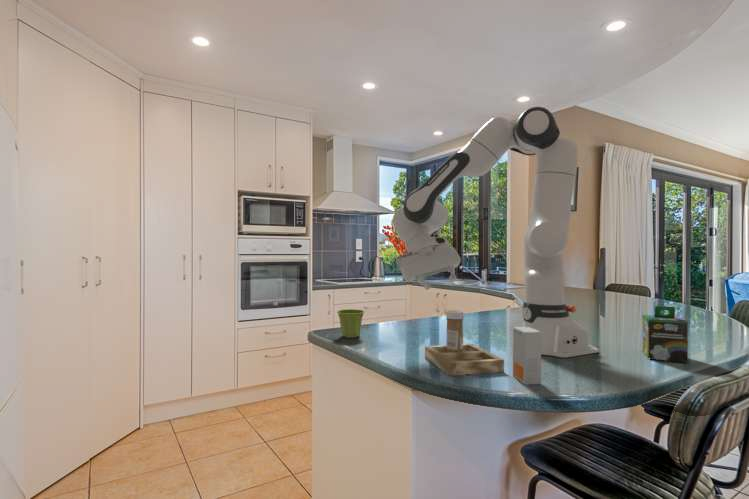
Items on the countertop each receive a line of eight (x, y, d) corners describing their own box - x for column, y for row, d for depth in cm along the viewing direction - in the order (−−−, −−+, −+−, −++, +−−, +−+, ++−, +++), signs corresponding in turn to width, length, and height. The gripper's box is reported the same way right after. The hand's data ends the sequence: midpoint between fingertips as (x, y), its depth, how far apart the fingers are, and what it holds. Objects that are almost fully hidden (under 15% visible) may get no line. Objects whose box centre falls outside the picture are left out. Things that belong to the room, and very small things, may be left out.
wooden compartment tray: (471, 353, 114) (472, 343, 114) (503, 371, 98) (504, 359, 98) (424, 357, 110) (424, 346, 110) (449, 376, 94) (449, 363, 94)
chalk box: (679, 355, 114) (679, 304, 113) (688, 364, 105) (689, 309, 105) (641, 352, 117) (641, 302, 117) (647, 360, 109) (648, 306, 109)
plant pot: (336, 333, 140) (337, 309, 139) (363, 333, 141) (363, 308, 140) (337, 339, 130) (337, 313, 130) (365, 339, 131) (365, 313, 131)
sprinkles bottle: (466, 360, 107) (466, 311, 107) (454, 363, 105) (454, 312, 104) (454, 356, 111) (454, 309, 111) (442, 359, 108) (442, 310, 108)
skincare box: (512, 376, 94) (512, 326, 94) (529, 375, 95) (529, 326, 95) (523, 385, 88) (524, 332, 88) (541, 384, 89) (542, 331, 89)
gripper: (395, 251, 122) (415, 288, 116) (450, 236, 129) (471, 270, 123) (391, 262, 127) (410, 298, 121) (444, 247, 135) (464, 280, 128)
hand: (441, 284), depth 122 cm, fingers open, 8 cm apart
